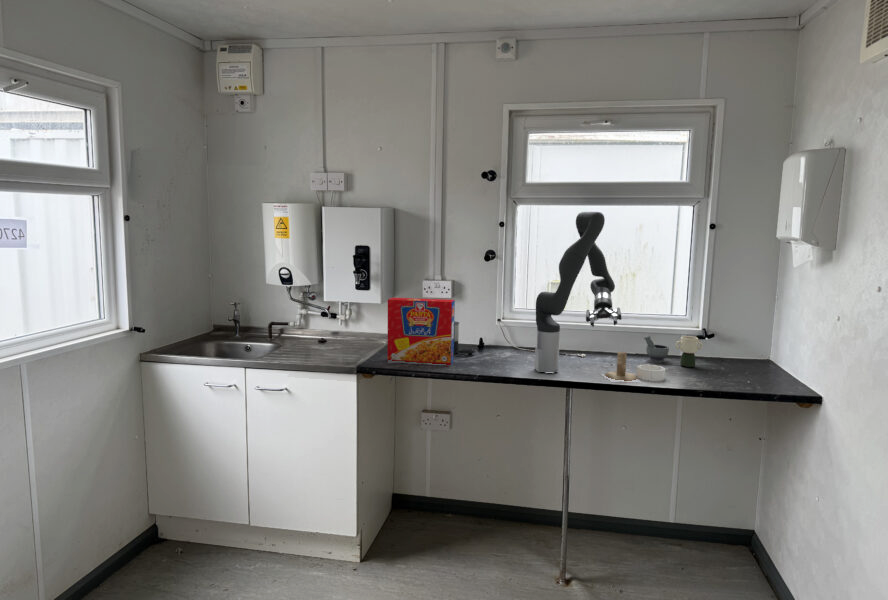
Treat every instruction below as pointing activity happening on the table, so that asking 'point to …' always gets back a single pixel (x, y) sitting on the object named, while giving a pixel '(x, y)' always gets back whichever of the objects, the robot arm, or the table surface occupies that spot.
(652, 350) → the mortar and pestle
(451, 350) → the pasta box
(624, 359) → the paper towel holder
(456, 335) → the milk frother
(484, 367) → the table surface
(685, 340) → the character mug
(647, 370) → the bowl
